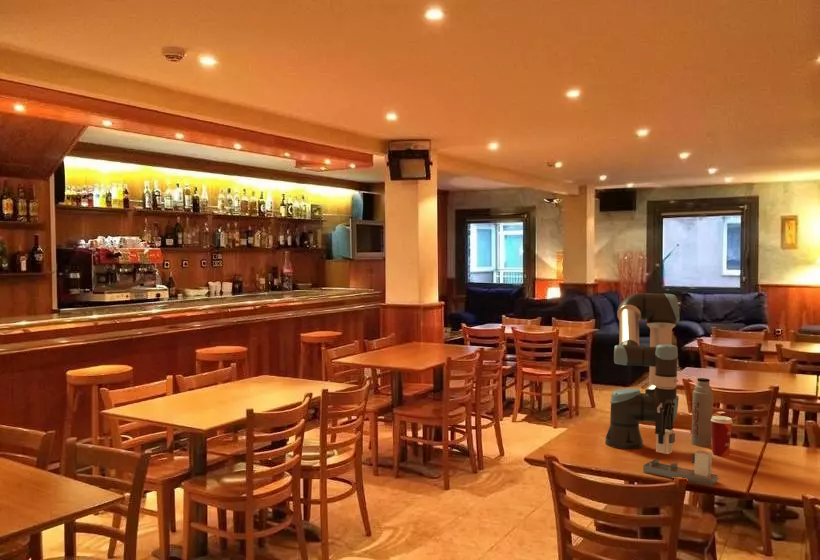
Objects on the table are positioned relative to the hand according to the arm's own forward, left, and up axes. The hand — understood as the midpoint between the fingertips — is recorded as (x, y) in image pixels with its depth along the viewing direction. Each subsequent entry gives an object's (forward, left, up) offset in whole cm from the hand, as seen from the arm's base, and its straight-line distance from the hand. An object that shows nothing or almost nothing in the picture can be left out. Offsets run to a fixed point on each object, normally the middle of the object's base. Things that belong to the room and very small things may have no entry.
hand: (663, 450), depth 255 cm
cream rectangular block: (0, 0, 0) cm, 0 cm away
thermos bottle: (-3, +52, -9) cm, 53 cm away
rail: (+6, 0, -8) cm, 10 cm away
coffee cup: (+8, +41, -9) cm, 43 cm away
